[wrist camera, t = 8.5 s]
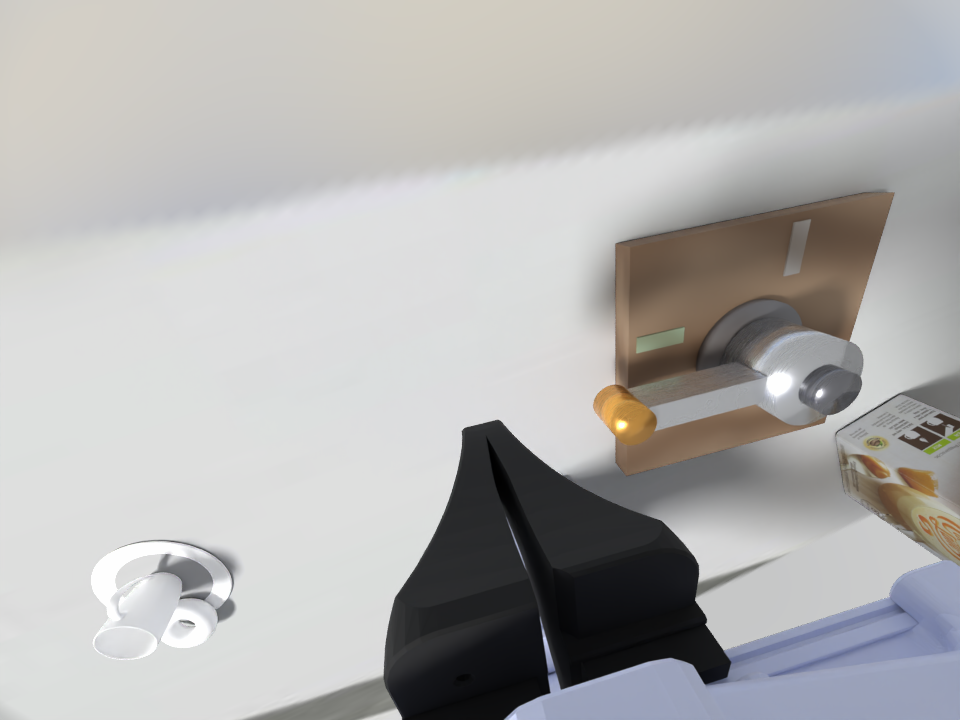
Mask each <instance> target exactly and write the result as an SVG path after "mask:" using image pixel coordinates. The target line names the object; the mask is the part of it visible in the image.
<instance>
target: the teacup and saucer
mask: <svg viewBox="0 0 960 720" xmlns="http://www.w3.org/2000/svg"><path fill="white" fill-rule="evenodd" d="M151 554H172V555H178V556H183V557H186V558H189V559H192V560H194V561H196V562H198V563H199V564H201V565H202V566H204V567H205V568H206V569H207V570H208V571H209V573H210V574H211V576H212V579H213V589H212V591H211V593H210V595H209V596H208V597H207V598H206V599H205V600H201V599H196V598H186V599H181V600H179V599H180V596H181V592H182V581H181V579H180V578H179V577H178V576H176V575H174V574H171V573H165V572H159V573H154V574H152V575H147V576H143V577H140V578H137V579H135V580H132V581H130V582H129V583H127V584H125V585H124V586H122V587H121V588H120V589H119V590H117V588H116V586H115V576H116V574H117V572H118V570H119V569H120V568H121V567H122V566H123V565H124V564H125V563H127V562H129V561H130V560H133V559H135V558H138V557H141V556H145V555H151ZM140 581H141V582H140ZM138 582H140V583H139V584H138V585H137V586H136V587H135V588H134V589H133V590H132V591H131V592H130V593H129V594H128V595H127V597H126V598H124V597H123V596H122V595H123V594H124V593H125V592H126V591H127V590H128V589H129V588H130V587H131V586H133V585H134V584H136V583H138ZM91 584H92V588H93V591H94V593H95V594H96V596H97V597H98V599H99V600H100V601H101V602H102V603H103V604H105V605H106V606H107V614H108V616H109V617H110V618H109V619H108V620H107V621H106V623H105V624H104V625H103V627H102V628H101V629H100V631H99V632H98V633H97V635H96V636H95V638H94V640H93V645H94V648H95V649H96V650H97V651H98V652H99V653H101V654H102V655H105V656H107V657H110V658H114V659H123V660H128V659H137V658H141V657H144V656H147V655H149V654H150V653H152V652H153V651H154V650H155V649H156V648H157V646H158V644H159V642H160V640H162V641H163V642H165V643H166V644H168V645H170V646H173V647H179V648H186V647H193V646H196V645H199V644H201V643H203V642H205V641H206V640H207V639H208V638H209V637H210V636H211V635H212V634H213V633H214V631H215V629H216V626H217V621H218V617H217V613H216V609H218V608H219V607H220V606H221V605H222V604H223V603H224V602H225V601H226V600H227V598H228V597H229V595H230V593H231V589H232V579H231V575H230V573H229V571H228V569H227V568H226V567H225V565H224V564H223V563H222V562H221V561H220V560H219V559H217V558H216V557H215V556H213V555H211V554H210V553H208V552H206V551H204V550H202V549H199V548H196V547H193V546H190V545H186V544H182V543H176V542H167V541H150V542H141V543H135V544H131V545H127V546H124V547H121V548H119V549H117V550H114V551H113V552H111V553H109V554H108V555H106V556H105V557H104V558H102V559H101V560H100V561H99V562H98V564H97V565H96V567H95V568H94V570H93V573H92V577H91ZM189 620H190V621H192V622H194V623H195V625H196V626H186V625H183V624H182V623H180V622H184V621H189Z"/></svg>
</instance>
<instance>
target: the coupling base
mask: <svg viewBox="0 0 960 720" xmlns="http://www.w3.org/2000/svg"><path fill="white" fill-rule="evenodd" d="M894 193H895V192H888V193H861V194H856V195H851V196H846V197H841V198H836V199H831V200H826V201H822V202H817V203H812V204H807V205H802V206H797V207H792V208H787V209H782V210H778V211H773V212H768V213H763V214H758V215H753V216H748V217H743V218H738V219H734V220H729V221H724V222H719V223H714V224H709V225H704V226H699V227H694V228H690V229H685V230H680V231H675V232H670V233H665V234H660V235H655V236H650V237H646V238H641V239H636V240H631V241H626V242H621V243H616V385H621V386H623V387H625V388H626V389H630V388H633V387H637V386H641V385H645V384H649V383H653V382H657V381H661V380H665V379H669V378H673V377H677V376H681V375H685V374H689V373H693V372H697V371H701V370H705V369H709V368H713V367H717V366H720V363H721V359H722V356H723V354H724V352H725V350H726V348H727V346H728V345H729V343H730V342H731V341H732V339H733V338H734V337H735V336H736V335H737V334H738V333H739V332H740V331H741V330H742V329H744V328H745V327H747V326H748V325H750V324H751V323H753V322H755V321H758V320H761V319H764V318H773V317H774V318H779V319H783V320H786V321H789V322H792V323H795V324H798V325H801V326H804V327H807V328H810V329H813V330H816V331H819V332H822V333H825V334H828V335H831V336H834V337H837V338H840V339H843V340H846V341H850V338H851V334H852V331H853V328H854V324H855V321H856V318H857V315H858V311H859V308H860V305H861V301H862V298H863V295H864V292H865V288H866V285H867V282H868V279H869V275H870V272H871V269H872V265H873V262H874V259H875V256H876V252H877V249H878V246H879V242H880V239H881V236H882V233H883V229H884V226H885V223H886V219H887V216H888V213H889V210H890V206H891V203H892V200H893V196H894ZM825 420H826V417H824V418H822V419H820V420H818V421H816V422H813V423H810V424H806V425H790V424H787V423H785V422H783V421H782V420H780V419H778V418H777V417H775V416H773V415H772V414H770V413H768V412H767V411H765V410H764V409H762V408H760V407H759V406H757V405H751V406H747V407H743V408H740V409H736V410H732V411H728V412H725V413H721V414H717V415H713V416H710V417H706V418H702V419H698V420H694V421H691V422H687V423H683V424H679V425H676V426H672V427H668V428H664V429H661V430H657V431H654V432H653V434H652V435H651V436H650V437H649V438H648V439H647V440H646V441H644V442H642V443H640V444H637V445H625V444H623V443H621V442H620V441H619V440H618V438H617V437H616V463H617V465H618V466H619V467H620V469H621V470H622V471H623V472H624V474H625V475H626V476H629V475H632V474H636V473H640V472H644V471H647V470H651V469H655V468H658V467H662V466H666V465H670V464H673V463H677V462H681V461H685V460H688V459H692V458H696V457H699V456H703V455H707V454H711V453H714V452H718V451H722V450H726V449H729V448H733V447H737V446H740V445H744V444H748V443H752V442H755V441H759V440H763V439H766V438H770V437H774V436H778V435H781V434H785V433H789V432H793V431H796V430H800V429H804V428H807V427H811V426H815V425H819V424H822V423H825Z"/></svg>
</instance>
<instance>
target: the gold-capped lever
mask: <svg viewBox="0 0 960 720" xmlns="http://www.w3.org/2000/svg"><path fill="white" fill-rule="evenodd" d="M862 369H863V355H862V352H861V350H860V349H859V347H858V346H857V345H856V344H854V343H852V342H849V341H846V340H843V339H840V338H837V337H834V336H831V335H828V334H825V333H822V332H819V331H816V330H813V329H810V328H807V327H804V326H801V325H798V324H795V323H792V322H789V321H786V320H783V319H779V318H774V317H773V318H764V319H761V320H758V321H755V322H753V323H751V324H750V325H748V326H747V327H745V328H744V329H742V330H741V331H740V332H739V333H738V334H737V335H736V336H735V337H734V338H733V339H732V341H731V342H730V343H729V345H728V346H727V348H726V350H725V352H724V354H723V356H722V359H721V363H720V366H717V367H713V368H709V369H705V370H701V371H697V372H693V373H689V374H685V375H681V376H677V377H673V378H669V379H665V380H661V381H657V382H653V383H649V384H645V385H641V386H637V387H633V388H630V389H626V388H625V387H623V386H621V385H610V386H608V387H606V388H604V389H602V390H601V391H600V392H599V393H598V394H597V396H596V398H595V400H594V404H593V408H594V411H595V413H596V414H597V415H598V416H599V418H600V419H601V420H602V421H603V422H604V423H605V425H606V426H607V427H608V428H609V429H610V430H611V432H612V433H613V434H614V435H615V436H616V437H617V438H618V440H619V441H620V442H621V443H623V444H625V445H637V444H640V443H642V442H644V441H646V440H647V439H648V438H649V437H650V436H651V435H652V434H653V432H654V431H657V430H661V429H664V428H668V427H672V426H676V425H679V424H683V423H687V422H691V421H694V420H698V419H702V418H706V417H710V416H713V415H717V414H721V413H725V412H728V411H732V410H736V409H740V408H743V407H747V406H751V405H757V406H759V407H760V408H762V409H764V410H765V411H767V412H768V413H770V414H772V415H773V416H775V417H777V418H778V419H780V420H782V421H783V422H785V423H787V424H790V425H806V424H810V423H813V422H816V421H818V420H820V419H822V418H824V417H826V416H827V415H833V414H836V413H838V412H840V411H842V410H844V409H845V408H847V407H848V406H849V405H850V404H851V403H852V402H853V401H854V400H855V399H856V397H857V396H858V394H859V392H860V390H861V386H862V380H861V377H860V376H861V373H862Z"/></svg>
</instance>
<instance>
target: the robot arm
mask: <svg viewBox="0 0 960 720" xmlns="http://www.w3.org/2000/svg"><path fill="white" fill-rule="evenodd" d="M698 578H699V565H698V563H697V561H696V559H695V557H694V556H693V555H692V553H691V552H690V551H689V550H688V548H687V547H686V546H685V545H684V543H683V542H682V541H681V540H680V539H679V538H678V537H677V536H676V535H675V534H674V533H673V532H672V531H671V530H670V529H669V528H668V527H667V526H666V525H665V524H664V523H663V522H662V521H660V520H657V519H654V518H651V517H649V516H646V515H643V514H640V513H637V512H634V511H631V510H629V509H626V508H624V507H621V506H619V505H617V504H614V503H612V502H609V501H607V500H605V499H603V498H601V497H599V496H597V495H595V494H593V493H591V492H589V491H587V490H585V489H583V488H582V487H580V486H578V485H577V484H575V483H573V482H571V481H570V480H568V479H567V478H565V477H564V476H562V475H561V474H559V473H558V472H556V471H555V470H553V469H552V468H551V467H549V466H548V465H547V464H545V463H544V462H543V461H542V460H540V459H539V458H538V457H537V456H535V455H534V454H533V453H532V452H531V451H530V450H529V449H527V448H526V447H525V446H524V445H523V444H522V443H521V442H520V441H519V440H518V439H517V438H516V437H515V436H514V435H513V434H512V433H511V432H510V431H509V430H508V429H507V428H506V426H505V425H504V424H503V423H502V422H501V421H500V420H495V421H491V422H487V423H483V424H479V425H475V426H471V427H467V428H464V429H463V431H462V450H461V456H460V462H459V467H458V471H457V475H456V479H455V482H454V486H453V489H452V493H451V495H450V498H449V501H448V504H447V506H446V509H445V512H444V514H443V516H442V519H441V521H440V523H439V525H438V528H437V530H436V532H435V534H434V536H433V538H432V540H431V542H430V543H429V545H428V547H427V549H426V550H425V552H424V554H423V556H422V558H421V559H420V561H419V563H418V564H417V566H416V568H415V569H414V571H413V572H412V574H411V575H410V577H409V578H408V580H407V581H406V583H405V584H404V586H403V587H402V588H401V590H400V591H399V593H398V594H397V596H396V597H395V600H394V604H393V608H392V612H391V616H390V621H389V625H388V631H387V638H386V645H385V660H384V682H385V686H386V689H387V690H388V692H389V694H390V696H391V698H392V700H393V701H394V703H395V705H396V707H397V709H398V711H399V712H400V714H401V716H402V720H960V566H958V565H957V564H956V563H954V562H953V561H950V560H943V561H940V562H937V563H934V564H931V565H928V566H924V567H921V568H918V569H915V570H912V571H909V572H907V573H905V574H903V575H902V576H901V577H899V578H898V579H897V580H896V581H895V583H894V584H893V586H892V588H891V590H890V593H889V594H890V597H888V598H884V599H881V600H878V601H875V602H872V603H869V604H866V605H863V606H860V607H857V608H854V609H851V610H847V611H844V612H841V613H838V614H835V615H832V616H829V617H826V618H823V619H820V620H817V621H814V622H811V623H807V624H805V625H801V626H798V627H795V628H792V629H789V630H786V631H783V632H780V633H777V634H774V635H770V636H767V637H764V638H761V639H758V640H755V641H752V642H749V643H746V644H743V645H740V646H737V647H733V648H731V649H727V650H724V651H723V649H722V648H721V646H720V645H719V644H718V642H717V641H716V639H715V638H714V636H713V635H712V633H711V632H710V630H709V629H708V628H707V626H706V625H705V624H706V623H707V618H706V616H705V614H704V613H703V611H702V610H701V608H700V607H699V606H698V604H697V603H696V601H695V597H696V591H697V584H698Z"/></svg>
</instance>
